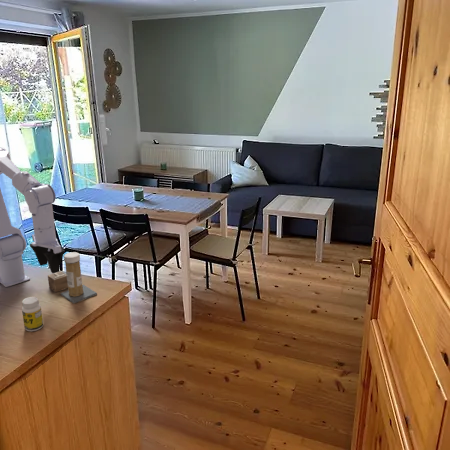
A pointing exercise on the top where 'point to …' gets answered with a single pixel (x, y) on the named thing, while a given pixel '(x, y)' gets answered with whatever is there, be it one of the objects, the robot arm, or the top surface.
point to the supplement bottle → (32, 314)
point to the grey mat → (86, 294)
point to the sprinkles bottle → (73, 273)
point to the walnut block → (58, 281)
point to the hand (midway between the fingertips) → (49, 268)
